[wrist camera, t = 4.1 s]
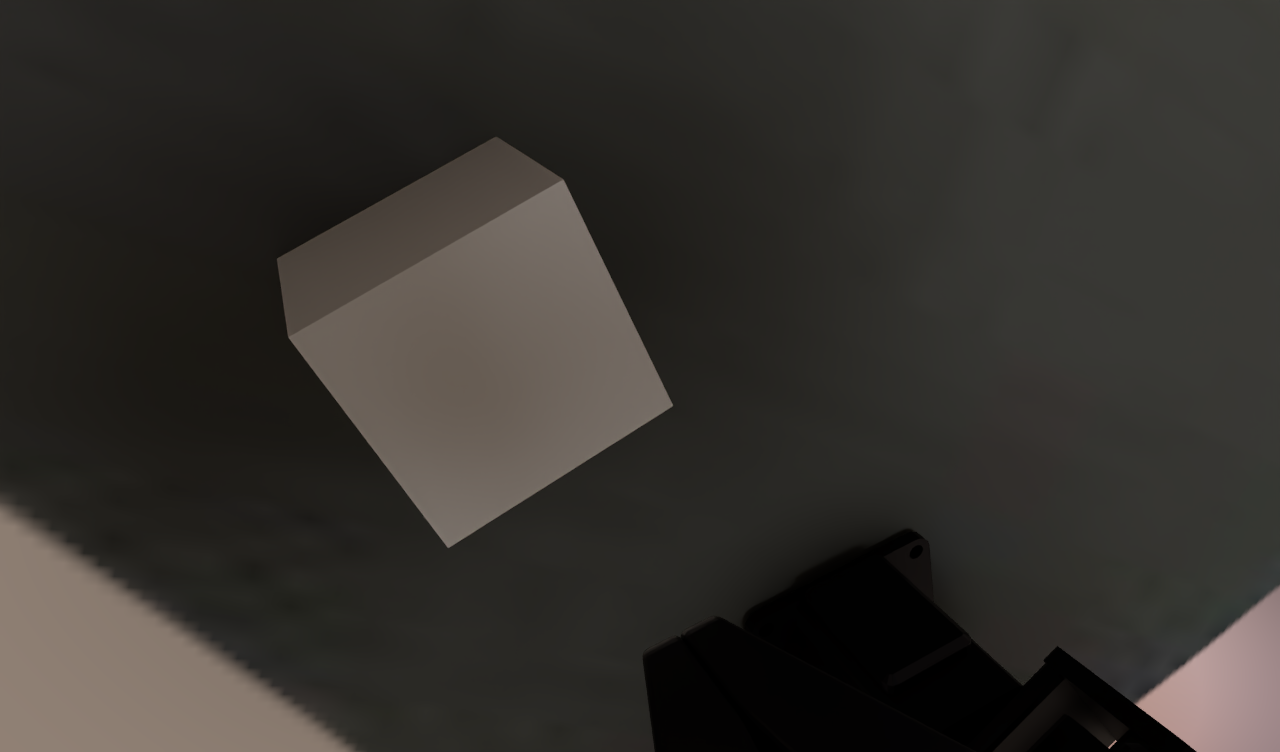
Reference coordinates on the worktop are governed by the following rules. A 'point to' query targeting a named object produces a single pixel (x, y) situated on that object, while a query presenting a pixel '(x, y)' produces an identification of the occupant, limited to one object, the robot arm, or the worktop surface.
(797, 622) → the robot arm
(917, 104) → the worktop surface
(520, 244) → the grey block
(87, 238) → the worktop surface
